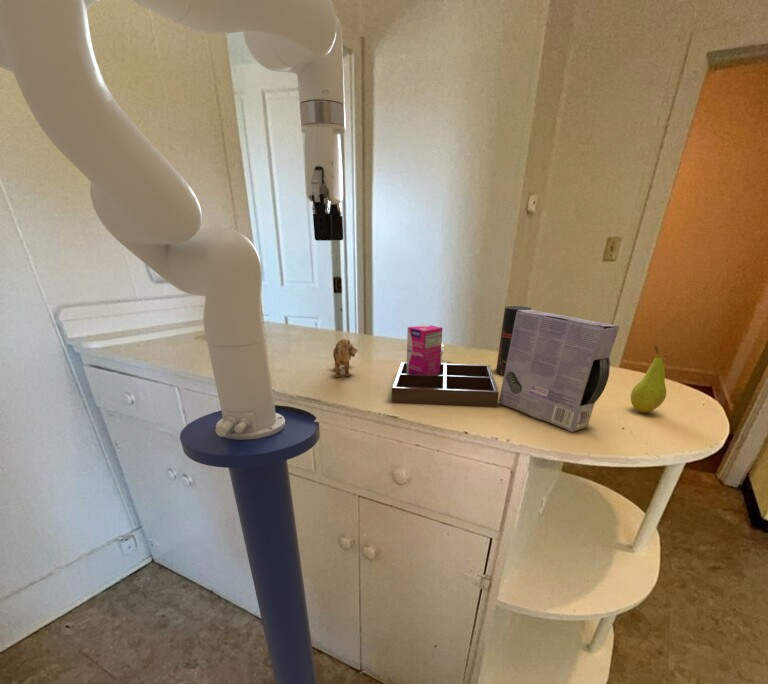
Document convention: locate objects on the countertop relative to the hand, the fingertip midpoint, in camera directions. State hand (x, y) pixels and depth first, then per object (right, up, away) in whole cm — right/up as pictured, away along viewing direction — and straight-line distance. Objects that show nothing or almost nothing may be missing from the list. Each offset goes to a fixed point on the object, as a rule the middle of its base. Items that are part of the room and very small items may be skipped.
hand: (329, 240), depth 82 cm
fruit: (+61, -33, +2) cm, 70 cm away
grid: (+24, -24, +15) cm, 37 cm away
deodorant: (+42, -17, +26) cm, 52 cm away
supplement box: (+20, -21, +19) cm, 34 cm away
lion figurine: (0, -17, +26) cm, 31 cm away
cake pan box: (+41, -34, 0) cm, 53 cm away
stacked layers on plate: (+23, -13, +32) cm, 41 cm away
